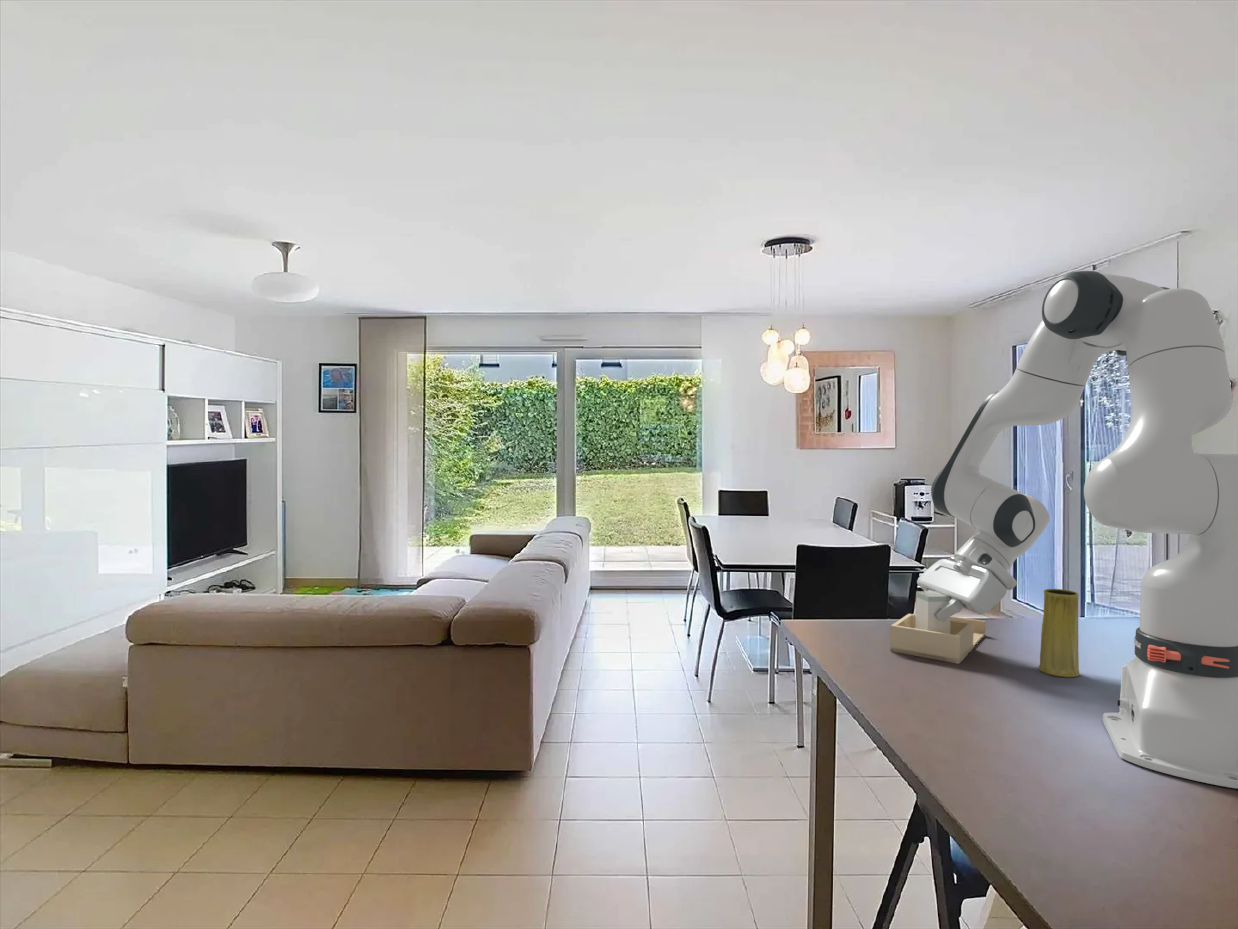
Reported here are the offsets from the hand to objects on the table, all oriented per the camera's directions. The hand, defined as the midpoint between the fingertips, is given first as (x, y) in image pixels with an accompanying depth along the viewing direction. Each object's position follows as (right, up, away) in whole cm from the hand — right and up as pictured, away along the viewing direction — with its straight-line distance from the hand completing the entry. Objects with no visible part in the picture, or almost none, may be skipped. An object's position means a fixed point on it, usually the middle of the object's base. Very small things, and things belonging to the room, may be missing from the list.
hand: (929, 615), depth 137 cm
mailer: (+4, -7, +5) cm, 9 cm away
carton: (+1, -5, 0) cm, 5 cm away
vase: (+17, -8, -12) cm, 23 cm away
